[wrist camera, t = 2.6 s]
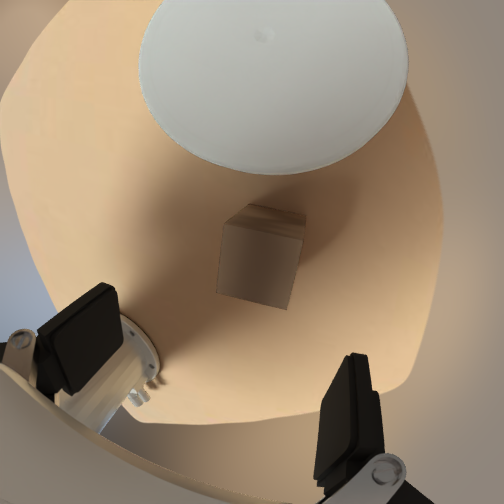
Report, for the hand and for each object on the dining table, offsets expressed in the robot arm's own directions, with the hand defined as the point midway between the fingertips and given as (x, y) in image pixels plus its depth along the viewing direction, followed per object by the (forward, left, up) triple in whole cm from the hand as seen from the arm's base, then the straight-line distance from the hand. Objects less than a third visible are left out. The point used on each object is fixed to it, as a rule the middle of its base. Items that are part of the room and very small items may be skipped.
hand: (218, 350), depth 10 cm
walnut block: (0, 0, -15) cm, 15 cm away
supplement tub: (+10, -5, -16) cm, 19 cm away
